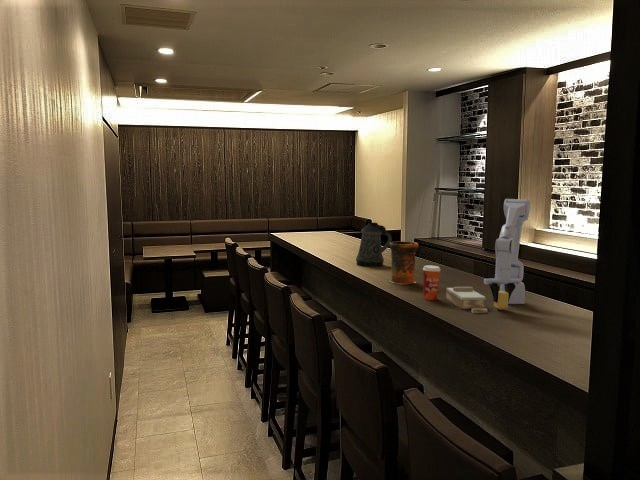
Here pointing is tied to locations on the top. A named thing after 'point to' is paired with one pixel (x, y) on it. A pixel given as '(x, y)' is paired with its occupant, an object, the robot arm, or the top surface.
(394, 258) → the vessel
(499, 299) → the yellow block
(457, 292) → the lid
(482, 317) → the top surface
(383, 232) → the beer stein
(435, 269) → the paper cup
